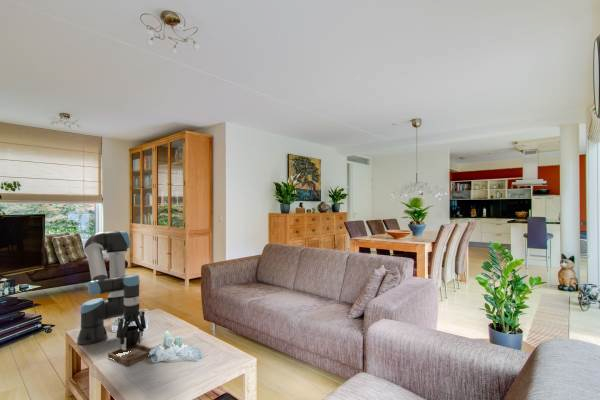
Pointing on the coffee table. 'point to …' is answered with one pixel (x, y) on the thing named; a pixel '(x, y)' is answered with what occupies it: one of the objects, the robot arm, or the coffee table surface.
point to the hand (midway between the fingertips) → (131, 346)
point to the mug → (132, 336)
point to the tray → (131, 354)
